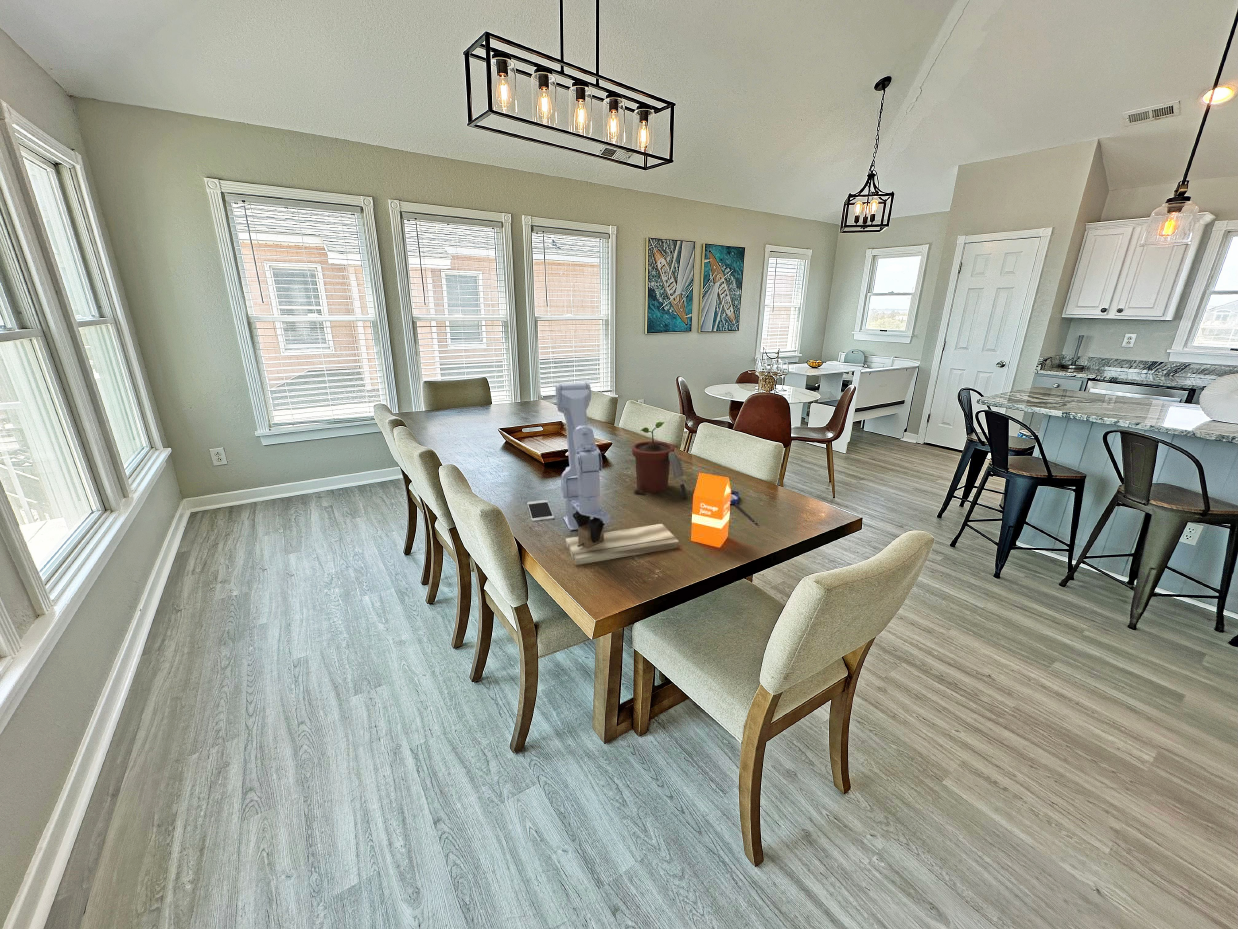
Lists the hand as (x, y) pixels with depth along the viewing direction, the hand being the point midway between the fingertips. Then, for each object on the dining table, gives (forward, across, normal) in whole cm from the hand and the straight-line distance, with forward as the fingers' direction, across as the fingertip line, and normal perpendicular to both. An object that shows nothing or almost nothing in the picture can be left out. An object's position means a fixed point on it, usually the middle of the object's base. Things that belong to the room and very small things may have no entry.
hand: (590, 538), depth 134 cm
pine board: (+3, -5, -8) cm, 10 cm away
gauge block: (+1, 0, 0) cm, 1 cm away
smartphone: (+4, +32, -6) cm, 32 cm away
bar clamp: (+4, -17, -52) cm, 55 cm away
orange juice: (+4, -20, -29) cm, 36 cm away
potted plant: (+4, +16, -48) cm, 50 cm away
